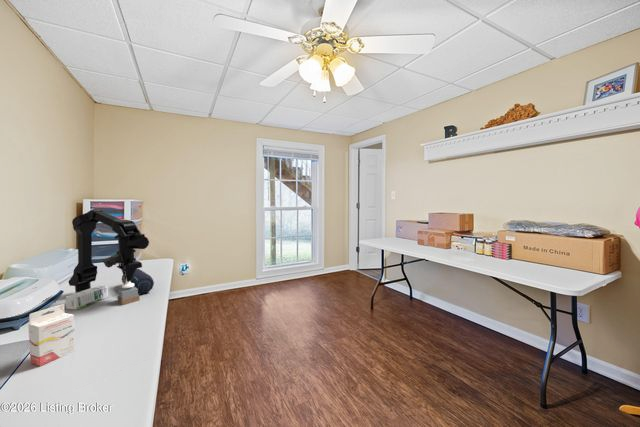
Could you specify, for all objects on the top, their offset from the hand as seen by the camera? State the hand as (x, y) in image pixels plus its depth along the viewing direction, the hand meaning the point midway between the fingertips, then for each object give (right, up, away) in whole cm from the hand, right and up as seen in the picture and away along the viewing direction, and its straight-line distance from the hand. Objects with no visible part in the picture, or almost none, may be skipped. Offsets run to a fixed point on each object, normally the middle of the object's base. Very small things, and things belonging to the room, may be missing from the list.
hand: (127, 281), depth 121 cm
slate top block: (0, -7, 0) cm, 7 cm away
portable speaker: (-6, -9, +15) cm, 19 cm away
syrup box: (-18, -7, -9) cm, 22 cm away
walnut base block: (0, -10, 0) cm, 10 cm away
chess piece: (0, -3, 0) cm, 3 cm away
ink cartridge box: (+9, -12, -43) cm, 45 cm away
